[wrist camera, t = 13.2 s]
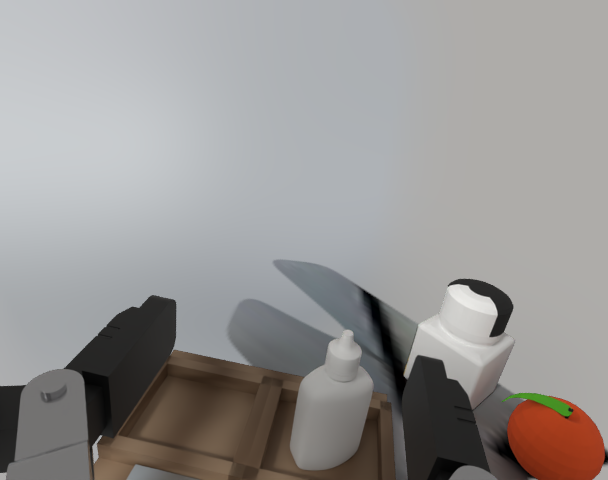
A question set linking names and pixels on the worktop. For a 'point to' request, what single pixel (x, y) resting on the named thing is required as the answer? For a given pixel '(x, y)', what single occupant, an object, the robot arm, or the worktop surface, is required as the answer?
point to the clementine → (554, 439)
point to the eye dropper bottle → (331, 408)
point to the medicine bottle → (468, 337)
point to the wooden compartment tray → (229, 428)
